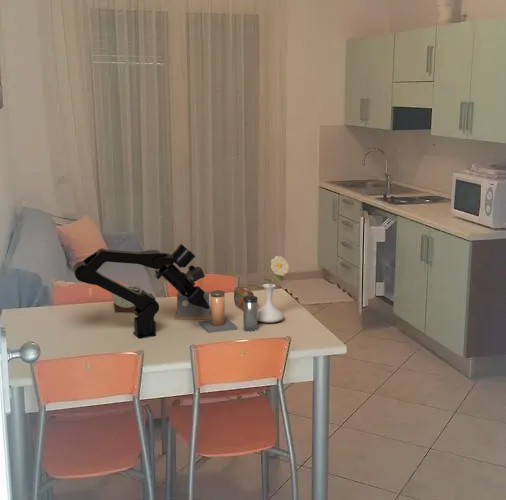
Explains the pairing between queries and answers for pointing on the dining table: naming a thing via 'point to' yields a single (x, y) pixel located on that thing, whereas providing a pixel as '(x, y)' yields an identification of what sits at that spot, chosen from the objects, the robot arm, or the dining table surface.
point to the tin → (241, 296)
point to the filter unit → (191, 309)
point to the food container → (124, 301)
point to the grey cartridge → (250, 313)
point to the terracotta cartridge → (217, 308)
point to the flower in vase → (269, 310)
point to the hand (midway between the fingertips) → (205, 304)
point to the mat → (211, 328)
